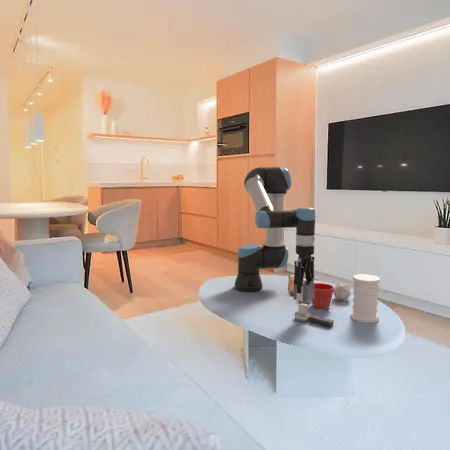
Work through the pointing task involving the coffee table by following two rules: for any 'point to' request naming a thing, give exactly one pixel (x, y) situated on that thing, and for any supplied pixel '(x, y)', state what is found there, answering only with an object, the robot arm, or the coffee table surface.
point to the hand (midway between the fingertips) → (303, 298)
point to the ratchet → (311, 317)
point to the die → (342, 292)
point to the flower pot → (322, 295)
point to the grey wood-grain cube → (306, 291)
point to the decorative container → (365, 298)
